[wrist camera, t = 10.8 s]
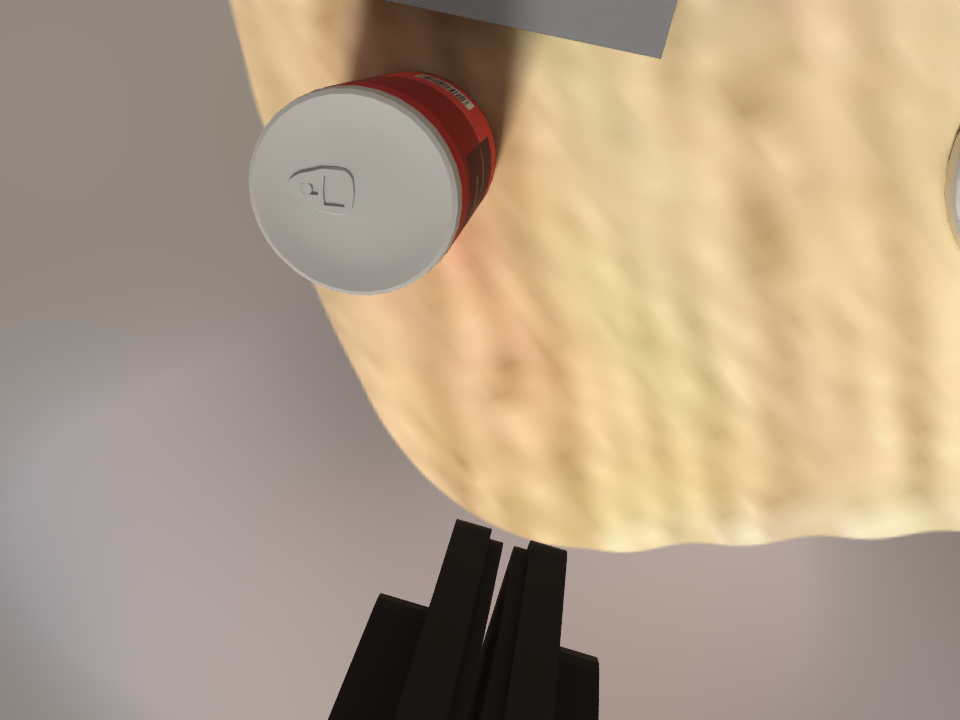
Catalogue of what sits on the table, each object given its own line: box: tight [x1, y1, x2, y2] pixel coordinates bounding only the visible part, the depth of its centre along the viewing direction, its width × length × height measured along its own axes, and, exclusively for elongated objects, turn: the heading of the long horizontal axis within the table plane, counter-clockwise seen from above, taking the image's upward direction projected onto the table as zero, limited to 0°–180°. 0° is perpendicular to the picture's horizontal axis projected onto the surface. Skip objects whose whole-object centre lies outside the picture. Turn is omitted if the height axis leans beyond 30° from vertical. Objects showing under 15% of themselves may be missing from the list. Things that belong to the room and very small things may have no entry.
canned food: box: [249, 72, 495, 295], centre depth 32 cm, size 8×8×11 cm
